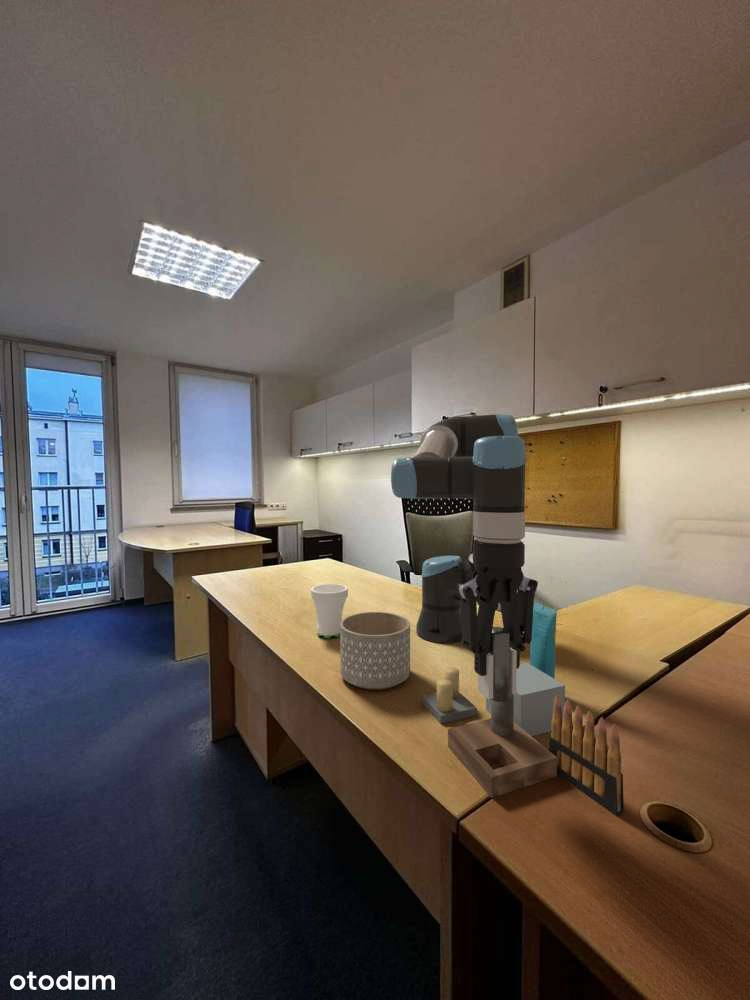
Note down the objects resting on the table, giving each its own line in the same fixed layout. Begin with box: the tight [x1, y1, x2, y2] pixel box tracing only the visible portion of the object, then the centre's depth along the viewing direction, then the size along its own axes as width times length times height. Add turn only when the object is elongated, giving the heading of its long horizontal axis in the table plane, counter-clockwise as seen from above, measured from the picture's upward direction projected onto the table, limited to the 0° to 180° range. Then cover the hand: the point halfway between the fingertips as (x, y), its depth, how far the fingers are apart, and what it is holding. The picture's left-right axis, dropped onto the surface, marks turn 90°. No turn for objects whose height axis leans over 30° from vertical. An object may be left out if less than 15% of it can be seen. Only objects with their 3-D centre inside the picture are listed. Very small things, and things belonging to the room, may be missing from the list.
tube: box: [529, 601, 558, 680], centre depth 84 cm, size 7×5×19 cm, turn 26°
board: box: [420, 666, 478, 725], centre depth 79 cm, size 8×8×6 cm
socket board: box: [447, 693, 558, 799], centre depth 63 cm, size 12×12×10 cm
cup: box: [310, 583, 349, 640], centre depth 118 cm, size 11×11×14 cm
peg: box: [489, 626, 510, 702], centre depth 60 cm, size 4×4×10 cm
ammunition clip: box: [548, 694, 625, 817], centre depth 58 cm, size 11×2×12 cm, turn 29°
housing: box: [485, 662, 566, 737], centre depth 75 cm, size 10×10×8 cm
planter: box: [339, 611, 411, 691], centre depth 92 cm, size 16×16×13 cm
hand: (497, 691), depth 60 cm, fingers closed on peg, 3 cm apart
